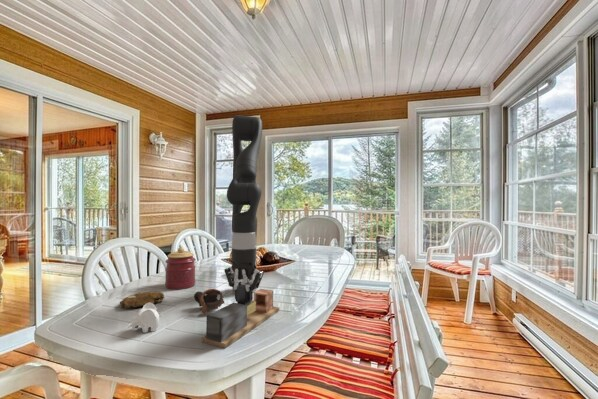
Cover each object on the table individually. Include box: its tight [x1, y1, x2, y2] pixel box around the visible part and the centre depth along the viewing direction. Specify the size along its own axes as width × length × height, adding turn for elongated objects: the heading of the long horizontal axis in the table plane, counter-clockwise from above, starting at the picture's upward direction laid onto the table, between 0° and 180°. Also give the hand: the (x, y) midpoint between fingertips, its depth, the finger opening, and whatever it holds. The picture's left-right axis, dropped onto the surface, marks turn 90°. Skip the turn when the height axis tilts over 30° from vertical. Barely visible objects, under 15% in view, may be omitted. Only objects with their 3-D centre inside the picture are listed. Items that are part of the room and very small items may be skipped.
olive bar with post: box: [236, 284, 256, 316], centre depth 89 cm, size 18×3×9 cm, turn 155°
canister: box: [164, 246, 196, 290], centre depth 137 cm, size 13×13×18 cm
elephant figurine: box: [127, 302, 164, 333], centre depth 90 cm, size 8×10×7 cm
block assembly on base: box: [201, 288, 280, 349], centre depth 94 cm, size 30×8×8 cm, turn 155°
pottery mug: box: [193, 288, 225, 315], centre depth 107 cm, size 12×10×8 cm
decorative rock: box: [119, 291, 165, 309], centre depth 113 cm, size 11×4×15 cm
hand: (243, 301), depth 93 cm, fingers closed on olive bar with post, 3 cm apart
